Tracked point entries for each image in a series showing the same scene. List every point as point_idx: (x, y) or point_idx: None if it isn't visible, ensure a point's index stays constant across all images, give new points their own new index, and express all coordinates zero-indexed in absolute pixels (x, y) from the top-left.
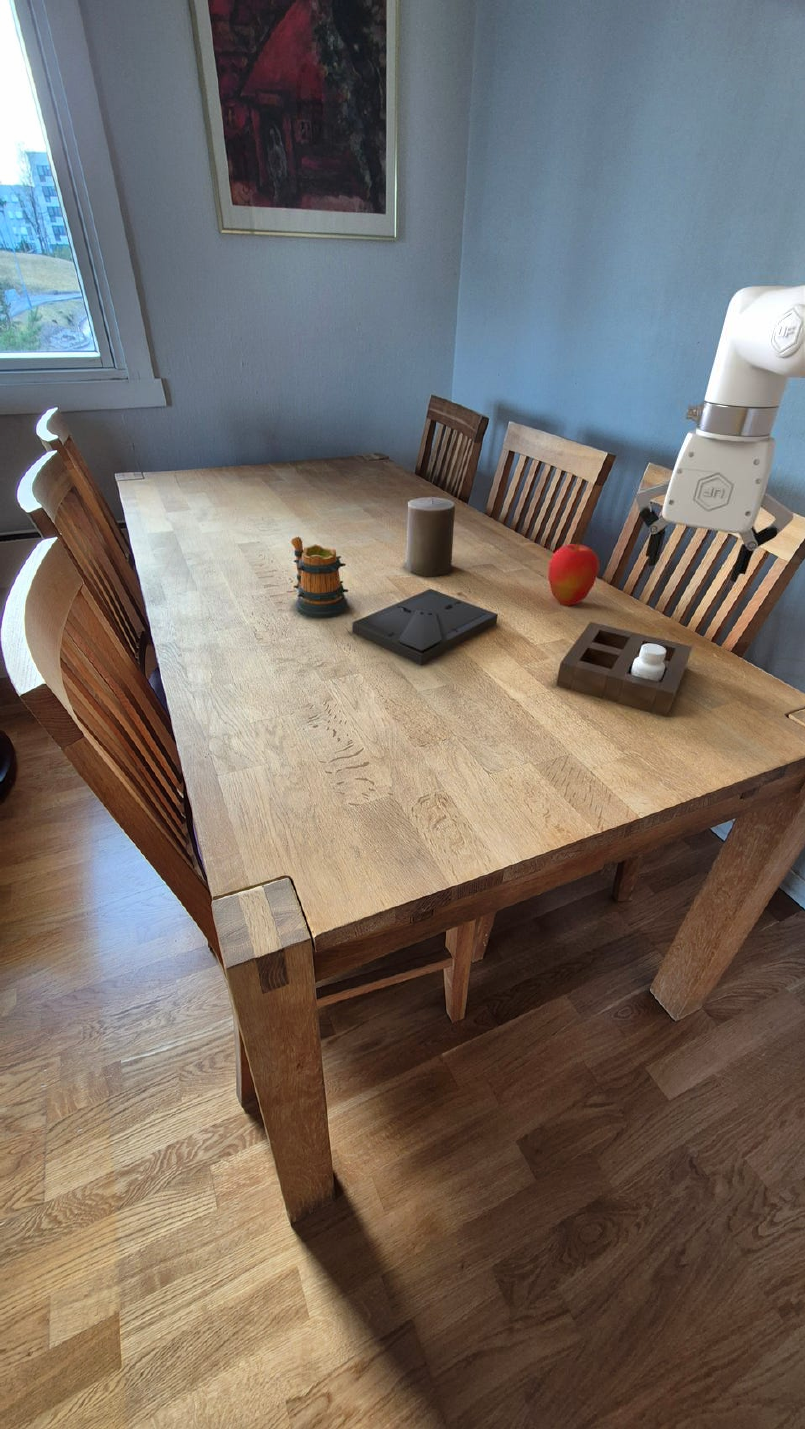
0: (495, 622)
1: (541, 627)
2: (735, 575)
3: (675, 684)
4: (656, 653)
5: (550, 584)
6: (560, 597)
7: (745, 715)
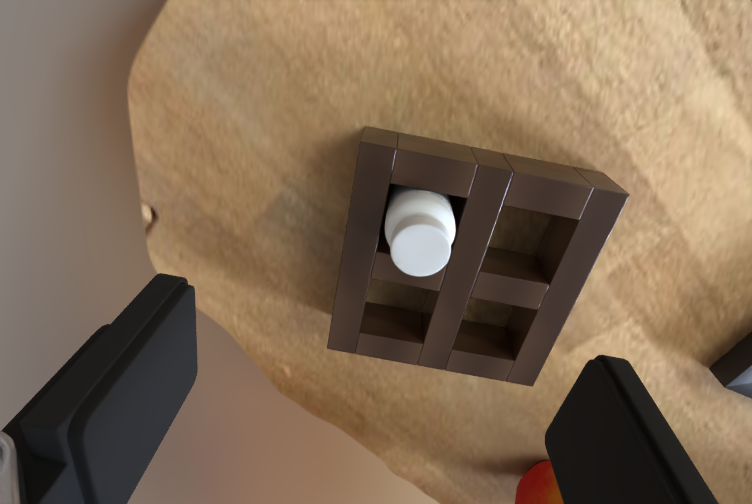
0: (716, 370)
1: None
2: (156, 294)
3: (358, 184)
4: (415, 229)
5: None
6: None
7: (221, 189)
